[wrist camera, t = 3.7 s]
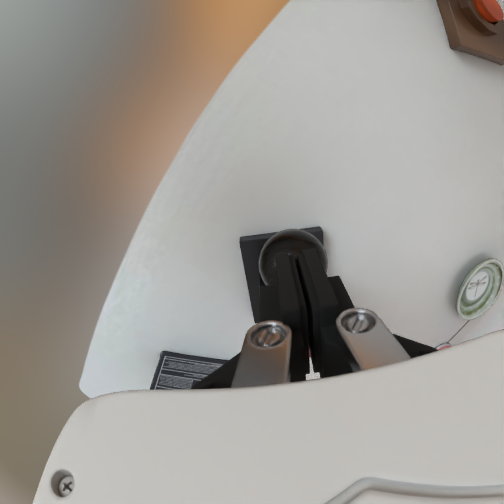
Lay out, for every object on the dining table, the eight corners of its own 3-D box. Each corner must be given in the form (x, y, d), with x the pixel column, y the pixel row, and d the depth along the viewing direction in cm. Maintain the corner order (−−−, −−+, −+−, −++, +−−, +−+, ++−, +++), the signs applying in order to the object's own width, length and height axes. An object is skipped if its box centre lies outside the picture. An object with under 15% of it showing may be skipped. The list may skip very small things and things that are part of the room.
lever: (252, 219, 13) (256, 278, 11) (321, 210, 13) (337, 267, 11) (274, 330, 23) (278, 366, 21) (312, 325, 23) (318, 360, 21)
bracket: (240, 237, 28) (229, 307, 18) (320, 226, 28) (356, 290, 17) (255, 317, 32) (253, 399, 22) (323, 308, 32) (347, 387, 21)
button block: (422, -34, 13) (438, -45, 10) (478, -11, 12) (495, -17, 9) (450, 48, 18) (471, 43, 15) (502, 65, 17) (522, 64, 14)
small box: (165, 378, 38) (148, 436, 28) (161, 349, 35) (139, 411, 26) (235, 389, 38) (230, 450, 29) (239, 360, 35) (234, 427, 26)
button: (469, -9, 12) (477, -12, 10) (489, 1, 11) (497, -2, 10) (478, 17, 13) (488, 14, 11) (497, 26, 13) (507, 24, 11)
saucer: (449, 321, 33) (456, 331, 31) (447, 269, 29) (457, 279, 27) (494, 293, 31) (502, 302, 29) (496, 241, 28) (506, 248, 25)
